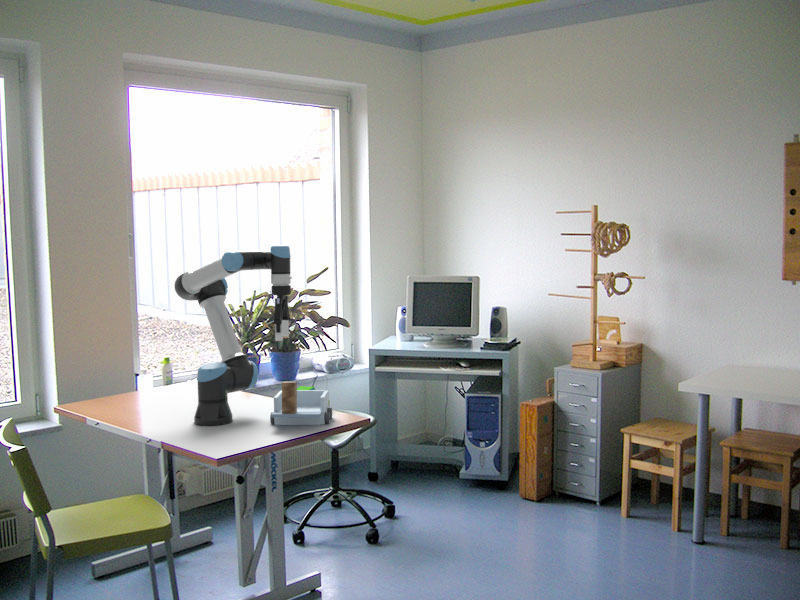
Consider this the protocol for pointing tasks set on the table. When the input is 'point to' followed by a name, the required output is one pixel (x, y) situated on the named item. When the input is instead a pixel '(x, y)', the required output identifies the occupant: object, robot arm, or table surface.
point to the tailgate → (298, 414)
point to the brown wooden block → (289, 397)
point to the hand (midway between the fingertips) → (282, 338)
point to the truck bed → (305, 408)
